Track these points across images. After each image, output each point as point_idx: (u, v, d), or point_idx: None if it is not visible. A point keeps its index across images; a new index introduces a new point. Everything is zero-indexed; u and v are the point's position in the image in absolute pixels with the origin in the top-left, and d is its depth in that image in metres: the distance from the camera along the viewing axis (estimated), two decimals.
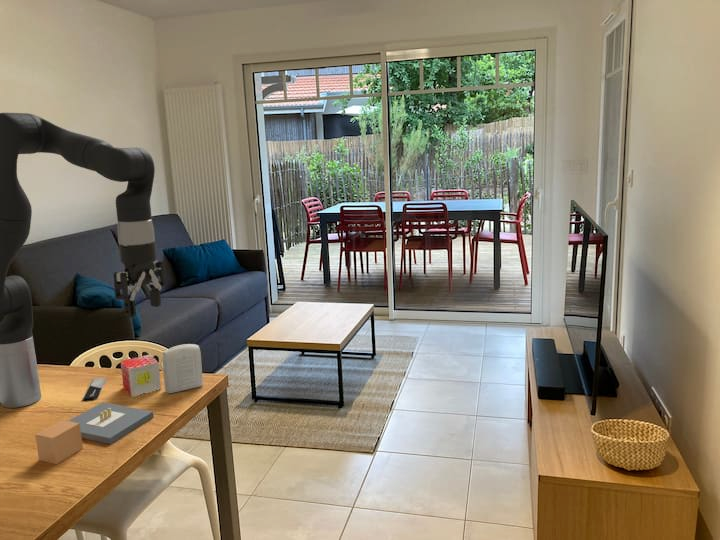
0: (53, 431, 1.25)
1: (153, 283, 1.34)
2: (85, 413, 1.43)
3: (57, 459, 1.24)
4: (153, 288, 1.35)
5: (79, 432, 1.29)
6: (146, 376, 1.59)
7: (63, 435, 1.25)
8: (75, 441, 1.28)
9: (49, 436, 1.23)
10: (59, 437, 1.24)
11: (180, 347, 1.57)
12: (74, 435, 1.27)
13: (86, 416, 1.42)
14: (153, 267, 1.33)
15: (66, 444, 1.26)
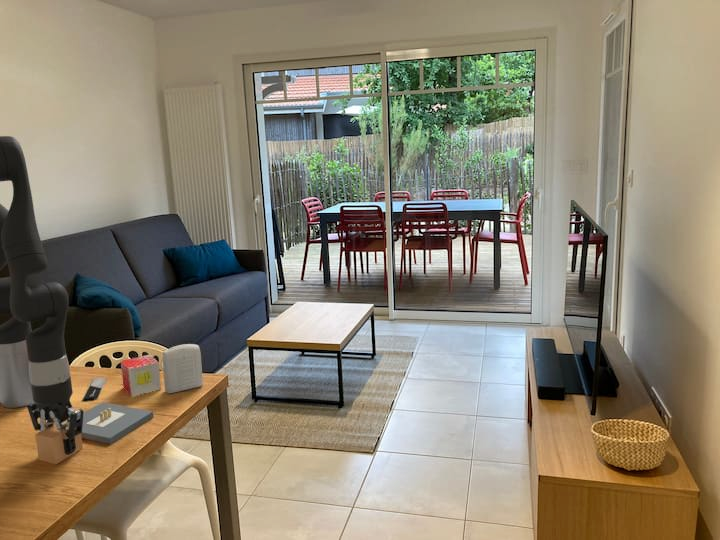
0: (53, 431, 1.25)
1: None
2: (85, 413, 1.43)
3: (57, 459, 1.24)
4: None
5: None
6: (146, 376, 1.59)
7: None
8: (75, 441, 1.28)
9: (49, 436, 1.23)
10: (59, 437, 1.24)
11: (180, 347, 1.57)
12: None
13: (86, 416, 1.42)
14: None
15: None
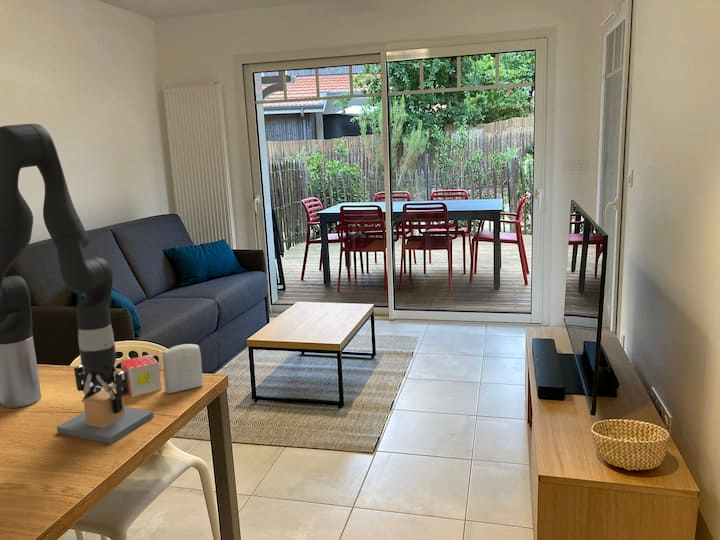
0: (99, 397, 1.38)
1: None
2: None
3: (103, 422, 1.36)
4: (90, 390, 1.40)
5: (122, 399, 1.41)
6: (146, 376, 1.59)
7: (108, 401, 1.37)
8: None
9: (96, 401, 1.36)
10: (105, 402, 1.36)
11: (180, 347, 1.57)
12: None
13: None
14: None
15: (111, 409, 1.38)
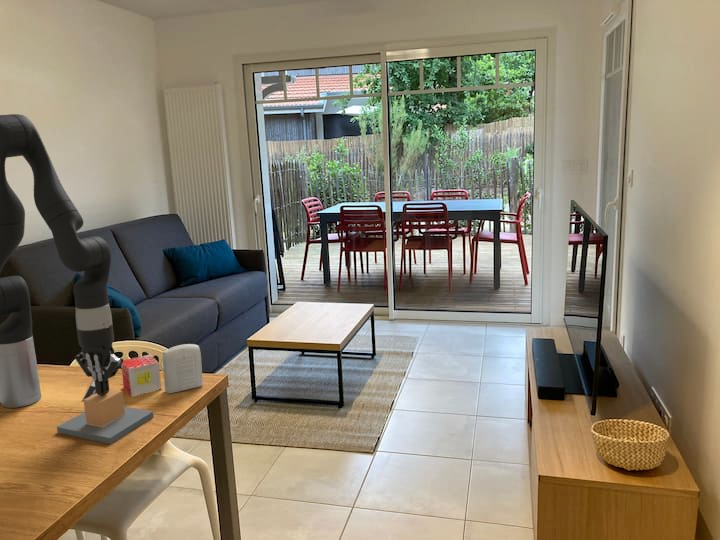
0: (99, 397, 1.38)
1: None
2: None
3: (103, 422, 1.36)
4: None
5: (122, 399, 1.41)
6: (146, 376, 1.59)
7: (108, 401, 1.37)
8: (118, 407, 1.40)
9: (96, 401, 1.36)
10: (105, 402, 1.36)
11: (180, 347, 1.57)
12: (118, 401, 1.40)
13: None
14: None
15: (111, 409, 1.38)
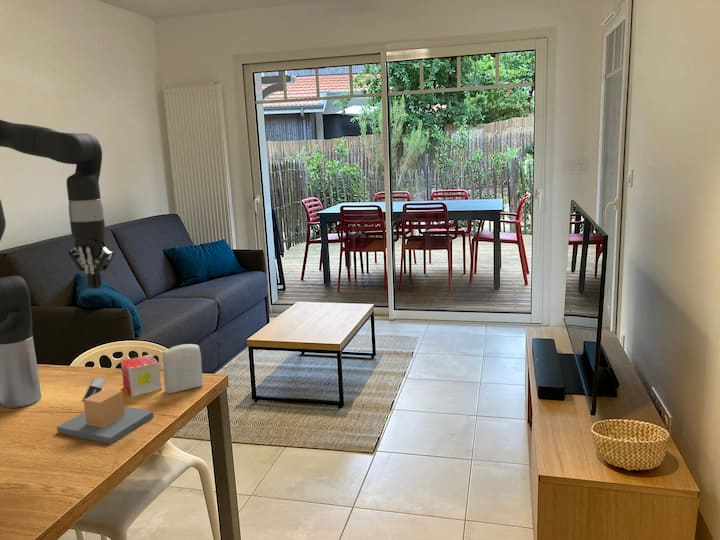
0: (99, 397, 1.38)
1: (94, 260, 1.45)
2: None
3: (103, 422, 1.36)
4: None
5: (122, 399, 1.41)
6: (146, 376, 1.59)
7: (108, 401, 1.37)
8: (118, 407, 1.40)
9: (96, 401, 1.36)
10: (105, 402, 1.36)
11: (180, 347, 1.57)
12: (118, 401, 1.40)
13: None
14: None
15: (111, 409, 1.38)
